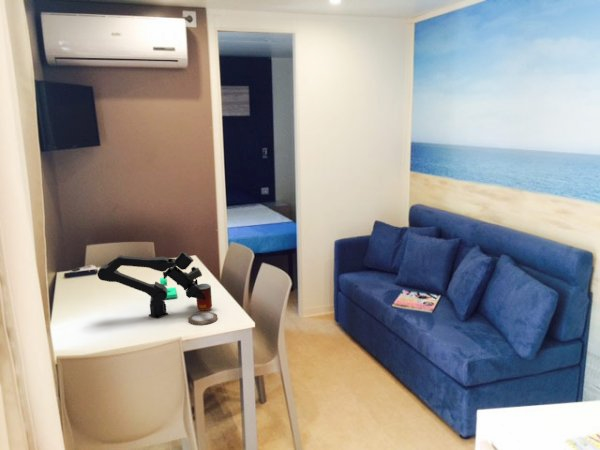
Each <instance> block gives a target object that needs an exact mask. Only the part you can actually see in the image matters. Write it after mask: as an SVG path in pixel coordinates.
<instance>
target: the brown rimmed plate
mask: <svg viewBox="0 0 600 450" xmlns="http://www.w3.org/2000/svg"><path fill="white" fill-rule="evenodd" d="M217 320H218V314H217V313H215V312H211V311H207V312H200V311H199V312H197V313H193V314H192V315H190V316H188V318H187V321H188V323H189V324H190V325H192V326H206V325H210V324H214V323H215V322H216V321H217Z"/></svg>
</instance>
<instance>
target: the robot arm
mask: <svg viewBox="0 0 600 450" xmlns="http://www.w3.org/2000/svg"><path fill="white" fill-rule="evenodd" d="M193 262H194V258H193V257H191V256H190V255H189V254H187V253H186V252H184V251H181V252H180V253H179V255H178V256H177V257H176V258H168V257H166V256H163V255H161V256H153V257H142V256H141V257H140V256H130V255H129V256H127V255H118V256H116V258H114V259H112V260H111V261H110V262H108V263H105V264H103V265H101V266H100V267H99V269H98V270H97V277H98V279H99V280H101V281H102V282H103V281H104V282H109V283H111V282H112V283H118V284H122V285H124V286H126V287H129V288H132V289H135V290H137V291H140V292H143V293H145V294H146V295H148V296H149V297H150V301H149V310H150V311H149V314H148V317H151V318H154V319H159V318H162V317H165V316H167V315H169V313H168V312H167V304H166V302H165V300H166V299H168V298H167V288H168V287H167V286H164V284H160V282H158V281H155V282H154V283H152V284H151V283H149V282H146V281H143V280H140V279H139V278H138V279H137V278H136V277H132V276H130V275H127V274H124V273H123V272H120V271H119V270H118V269H119V268H120V267H124V266H125V267H137V268H148V269H151V270H154V271H157V272H162V275H163V278H164V279H165V278H166V277H167V278H170V279H171V280H172V281H173V282H175V283H176V285H177V286H180V287H182V288H183V290H184V291H185V295H186V298H189V299H190V298H195V299H196V298H198V299H203V300H205V299H206V297H205V296H204V295H203V294H202V293H201V292H200V291H199V286H198V285H199V284H198V278H200V277H202V276H203V274H202V272H201V270H200V268H199V267H196V266H192V267H191V270H190V272H186V270H187V269H188V268H189V266H191V265H192V263H193ZM184 270H185V271H184Z"/></svg>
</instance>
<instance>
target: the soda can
mask: <svg viewBox="0 0 600 450" xmlns="http://www.w3.org/2000/svg"><path fill="white" fill-rule="evenodd" d="M198 286H199V291H200V292H201V293H202V294H203V295H204V296H205V297H206V299H205V300H203V299H198V298H195V299H196V309H198V311H199V313H200V312H211V311H212V306H213V301H212V289H211V288H212V286H211V284H209V283H201V284H198Z"/></svg>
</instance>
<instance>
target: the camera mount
mask: <svg viewBox="0 0 600 450" xmlns="http://www.w3.org/2000/svg"><path fill="white" fill-rule="evenodd" d="M167 278H168V276H167V277H166V278H165V279H164V277H159V281H160V282H159V283H160V284H164V286H165V287H166V288H167V298H166V299H172V298H173V299H174V298H178V293H177V288H176V287H167V286H168V280H167Z"/></svg>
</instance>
